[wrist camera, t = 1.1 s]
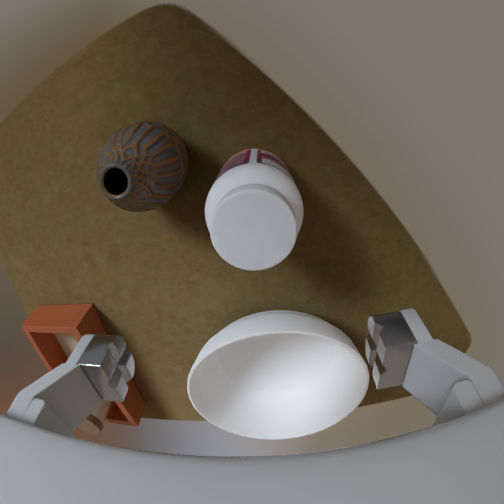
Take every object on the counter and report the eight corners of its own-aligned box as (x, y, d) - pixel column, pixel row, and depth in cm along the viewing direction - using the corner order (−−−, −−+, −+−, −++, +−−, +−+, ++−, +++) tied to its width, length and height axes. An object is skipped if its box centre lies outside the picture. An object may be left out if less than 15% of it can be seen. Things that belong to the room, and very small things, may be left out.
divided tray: (93, 397, 42) (84, 418, 38) (38, 305, 33) (20, 325, 29) (145, 402, 41) (138, 426, 37) (93, 303, 33) (76, 327, 28)
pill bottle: (223, 218, 28) (202, 285, 18) (215, 150, 25) (185, 180, 15) (292, 214, 27) (310, 280, 17) (290, 145, 25) (310, 171, 15)
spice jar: (86, 379, 39) (66, 420, 31) (96, 368, 37) (75, 411, 30) (110, 396, 40) (94, 437, 33) (122, 386, 38) (105, 430, 31)
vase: (113, 134, 24) (58, 150, 16) (183, 108, 23) (146, 110, 15) (136, 203, 27) (93, 243, 19) (205, 183, 26) (181, 218, 18)
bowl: (359, 378, 37) (371, 421, 30) (229, 403, 40) (225, 446, 33) (343, 262, 29) (364, 306, 23) (171, 304, 32) (153, 351, 26)
